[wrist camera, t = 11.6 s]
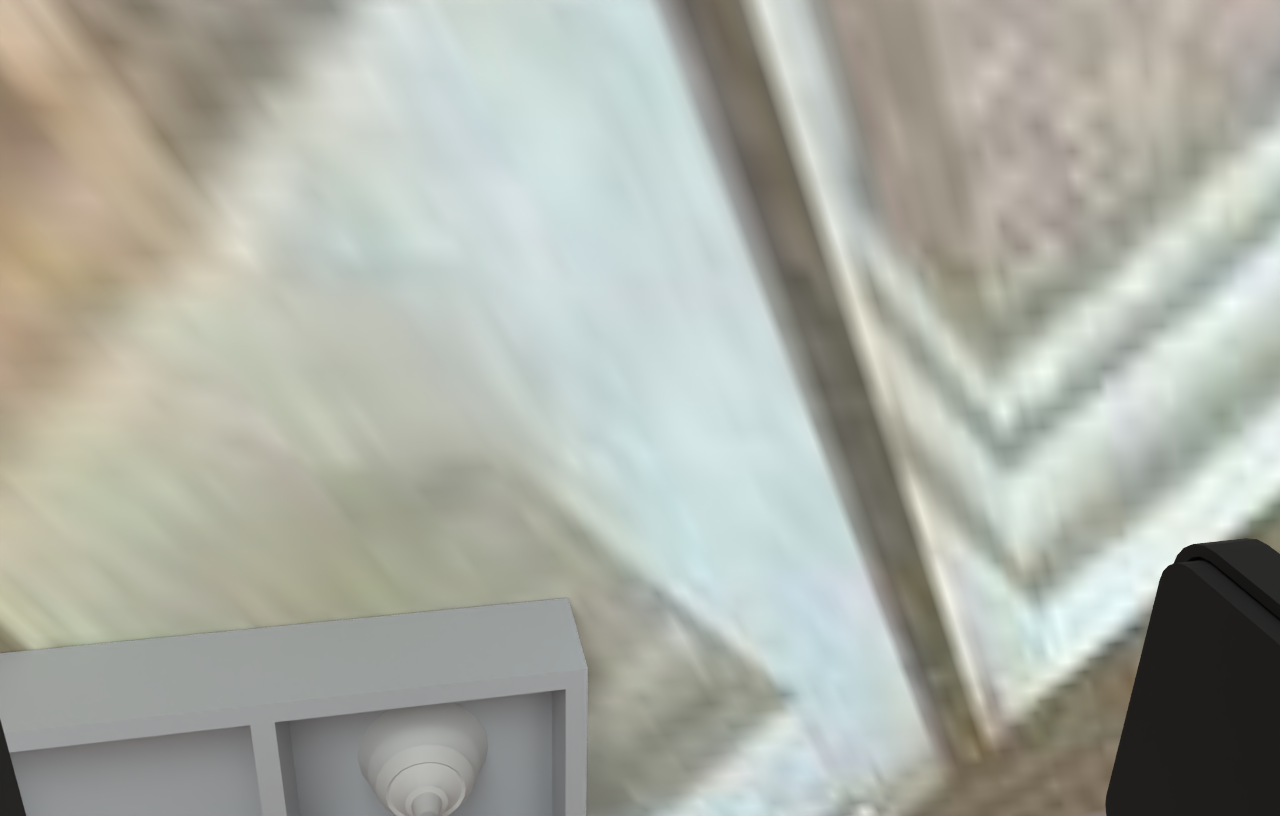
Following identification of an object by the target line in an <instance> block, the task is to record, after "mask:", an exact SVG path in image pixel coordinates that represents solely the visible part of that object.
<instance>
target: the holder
mask: <svg viewBox="0 0 1280 816" xmlns="http://www.w3.org/2000/svg"><path fill="white" fill-rule="evenodd" d="M440 703H452V704H456V705H459V706H461V707H463V708H464V709H466V710H467V711H469V712H470V713H471V714H473V715H474V716H476V718H477V719H478V721H479V722H480V724H481V725H482V726H483V728H484V729H485V732H486V737H487V742H488V750H487V755H486V760H485V763H484V764H483V766H482V768H481V769H480V771H479V775H478V778H477V780H476V781H475V783H474V785H473V789H472V791H471V793H470V795H469V796H468V798H467V800H466V801H465V802H464V803H463V804H462V805H461V806H460V807H458V808H457V809H456V810H455V811H454V812H452V813H451V814H449V815H447V816H586V798H587V711H588V667H587V663H586V660H585V656H584V653H583V649H582V645H581V642H580V638H579V635H578V631H577V627H576V624H575V620H574V617H573V613H572V610H571V606H570V602H569V599H568V598H562V599H552V600H541V601H531V602H521V603H511V604H500V605H490V606H480V607H470V608H459V609H449V610H439V611H429V612H418V613H408V614H398V615H388V616H378V617H367V618H357V619H347V620H337V621H326V622H316V623H306V624H296V625H285V626H275V627H265V628H255V629H244V630H234V631H224V632H214V633H203V634H193V635H183V636H173V637H162V638H152V639H142V640H132V641H122V642H111V643H101V644H91V645H81V646H70V647H60V648H50V649H40V650H29V651H19V652H9V653H0V720H1V723H2V727H3V731H4V735H5V738H6V742H7V746H8V749H9V753H10V757H11V761H12V764H13V768H14V772H15V776H16V779H17V783H18V787H19V790H20V794H21V798H22V802H23V805H24V809H25V813H26V816H396V815H394V814H392V813H391V812H389V811H387V810H386V809H385V807H384V806H383V805H382V804H381V802H380V801H379V799H378V796H377V795H376V794H375V792H374V791H373V790H372V789H371V786H370V784H369V783H368V781H367V780H366V779H365V778H364V776H363V775H362V773H361V769H360V766H359V762H358V752H359V745H360V741H361V739H362V737H363V736H364V734H365V732H366V730H367V728H368V727H369V726H370V725H371V724H372V723H373V722H374V721H375V720H376V719H377V718H378V717H380V716H381V715H382V714H383V713H385V712H387V711H389V710H391V709H396V708H405V707H414V706H423V705H431V704H440Z"/></svg>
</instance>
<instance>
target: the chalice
mask: <svg viewBox="0 0 1280 816" xmlns="http://www.w3.org/2000/svg"><path fill="white" fill-rule="evenodd" d="M487 750H488V742H487V737H486V732H485V729H484V728H483V726H482V725H481V724H480V722H479V721H478V719H477V718H476V716H474V715H473V714H471V713H470V712H469V711H467V710H466V709H464V708H463V707H461V706H459V705H456V704H452V703H440V704H431V705H423V706H414V707H405V708H396V709H391V710H389V711H387V712H385V713H383V714H382V715H381V716H380V717H378V718H377V719H376V720H375V721H374V722H373V723H372V724H371V725H370V726H369V727H368V728H367V730H366V732H365V734H364V736H363V737H362V739H361V741H360V745H359V752H358V762H359V766H360V769H361V773H362V775H363V776H364V778H365V779H366V780H367V781H368V783H369V784H370V786H371V789H372V790H373V791H374V792H375V794H376V795H377V796H378V799H379V801H380V802H381V804H382V805H383V806H384V807H385V809H386V810H387V811H389V812H391V813H392V814H394V815H396V816H447V815H449V814H451V813H452V812H454V811H455V810H456V809H457V808H458V807H460V806H461V805H462V804H463V803H464V802H465V801H466V800H467V798H468V796H469V795H470V793H471V791H472V789H473V785H474V783H475V781H476V780H477V778H478V775H479V771H480V769H481V768H482V766H483V764H484V763H485V760H486V755H487Z"/></svg>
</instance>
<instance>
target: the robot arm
mask: <svg viewBox="0 0 1280 816" xmlns="http://www.w3.org/2000/svg"><path fill="white" fill-rule="evenodd" d="M1105 805H1106V815H1107V816H1280V554H1279V553H1278V552H1276V551H1275V550H1274V549H1272V548H1271V547H1270V546H1268V545H1267V544H1265V543H1263V542H1261V541H1259V540H1257V539H1247V538H1245V539H1236V540H1227V541H1218V542H1209V543H1200V544H1193V545H1190V546H1187V547H1185V548H1184V549H1183V550H1182V551H1181V552H1180V553H1179V554H1178V555H1177V557H1176V559H1175V562H1174V564H1172V565H1169V566H1168V567H1167V568H1166V569H1165V570H1164V571H1163V573H1162V576H1161V578H1160V581H1159V585H1158V589H1157V593H1156V597H1155V601H1154V605H1153V610H1152V614H1151V618H1150V622H1149V626H1148V630H1147V634H1146V638H1145V642H1144V646H1143V650H1142V654H1141V658H1140V662H1139V666H1138V670H1137V674H1136V678H1135V682H1134V686H1133V690H1132V694H1131V698H1130V702H1129V707H1128V711H1127V715H1126V719H1125V723H1124V727H1123V731H1122V735H1121V739H1120V743H1119V747H1118V751H1117V755H1116V759H1115V763H1114V767H1113V771H1112V775H1111V779H1110V783H1109V787H1108V791H1107V795H1106V804H1105ZM0 816H26V813H25V809H24V805H23V802H22V798H21V794H20V790H19V787H18V783H17V779H16V776H15V772H14V768H13V764H12V761H11V757H10V753H9V749H8V746H7V742H6V738H5V735H4V731H3V727H2V723H1V720H0Z"/></svg>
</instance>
